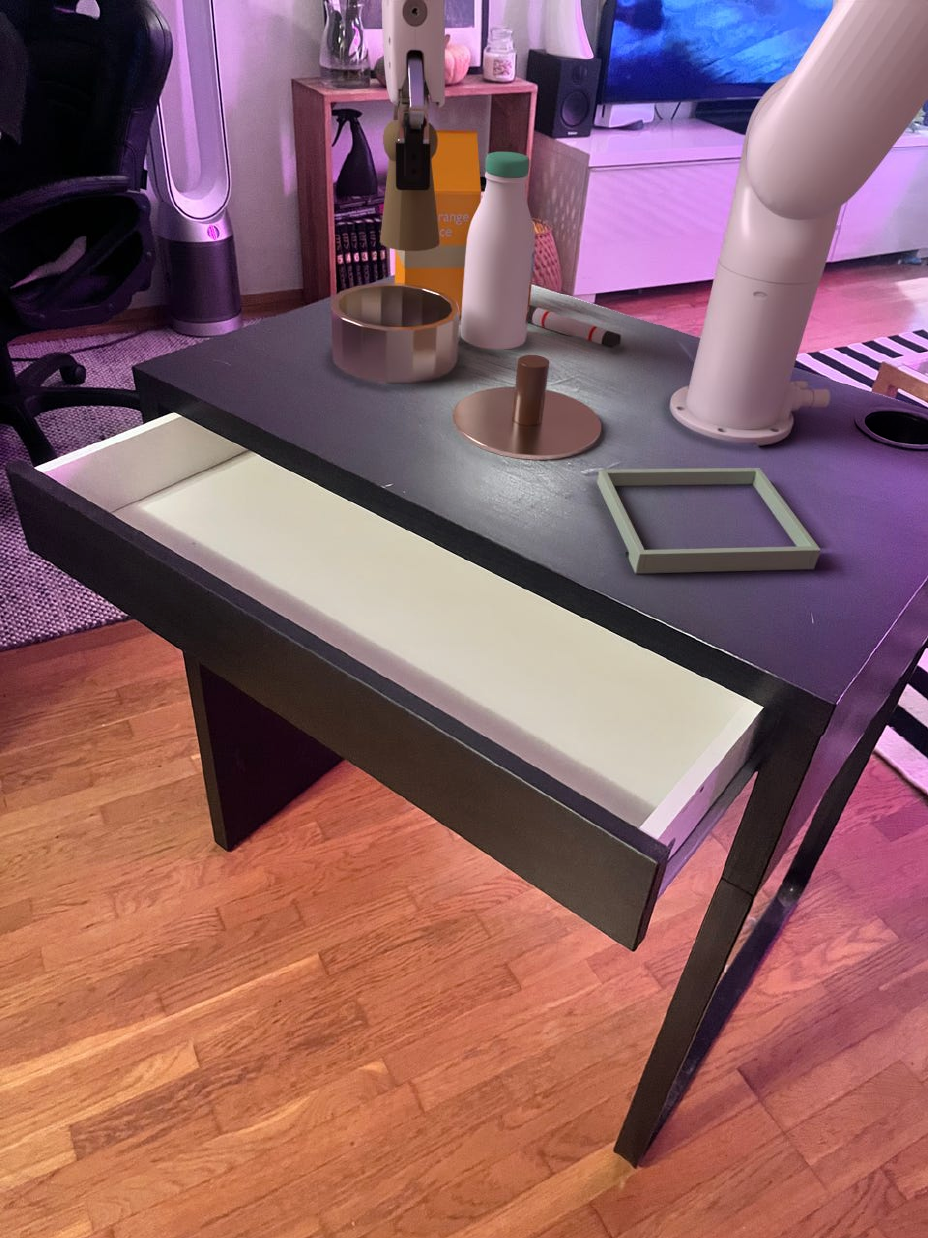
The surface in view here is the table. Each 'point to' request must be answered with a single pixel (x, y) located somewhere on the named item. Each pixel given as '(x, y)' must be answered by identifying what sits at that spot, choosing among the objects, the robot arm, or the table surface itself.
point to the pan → (394, 332)
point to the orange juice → (447, 217)
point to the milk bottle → (499, 258)
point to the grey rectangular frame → (713, 557)
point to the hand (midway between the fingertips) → (410, 178)
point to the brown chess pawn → (408, 203)
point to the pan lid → (527, 417)
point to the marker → (572, 327)
